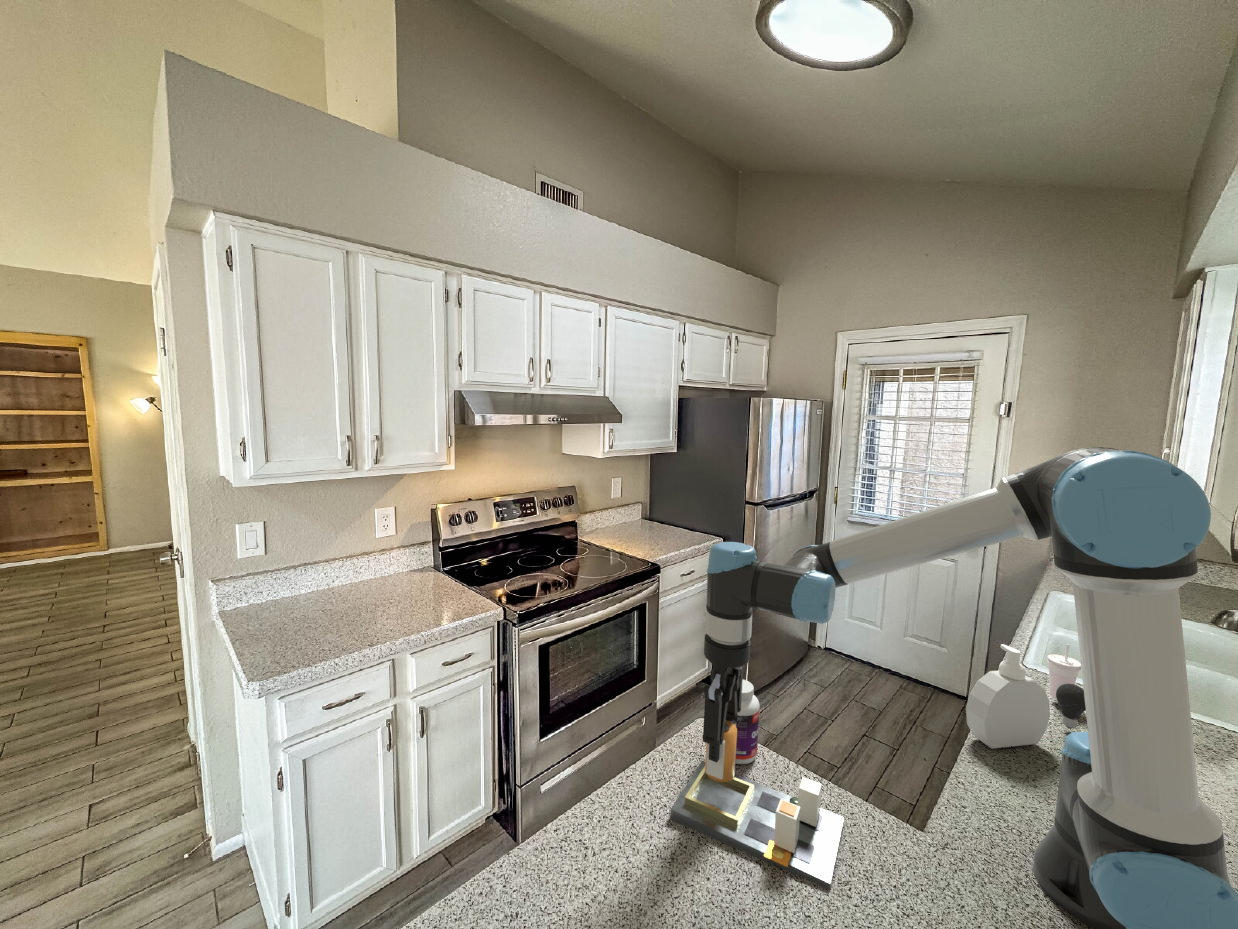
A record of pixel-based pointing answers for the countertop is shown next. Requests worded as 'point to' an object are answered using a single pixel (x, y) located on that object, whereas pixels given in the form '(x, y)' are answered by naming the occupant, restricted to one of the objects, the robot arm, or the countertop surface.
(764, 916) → the countertop surface
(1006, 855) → the countertop surface
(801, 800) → the breaker
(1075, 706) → the light bulb
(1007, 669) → the soap bottle
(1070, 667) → the smoothie
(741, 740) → the pill bottle
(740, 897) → the countertop surface
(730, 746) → the cap
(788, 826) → the block
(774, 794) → the breaker panel
